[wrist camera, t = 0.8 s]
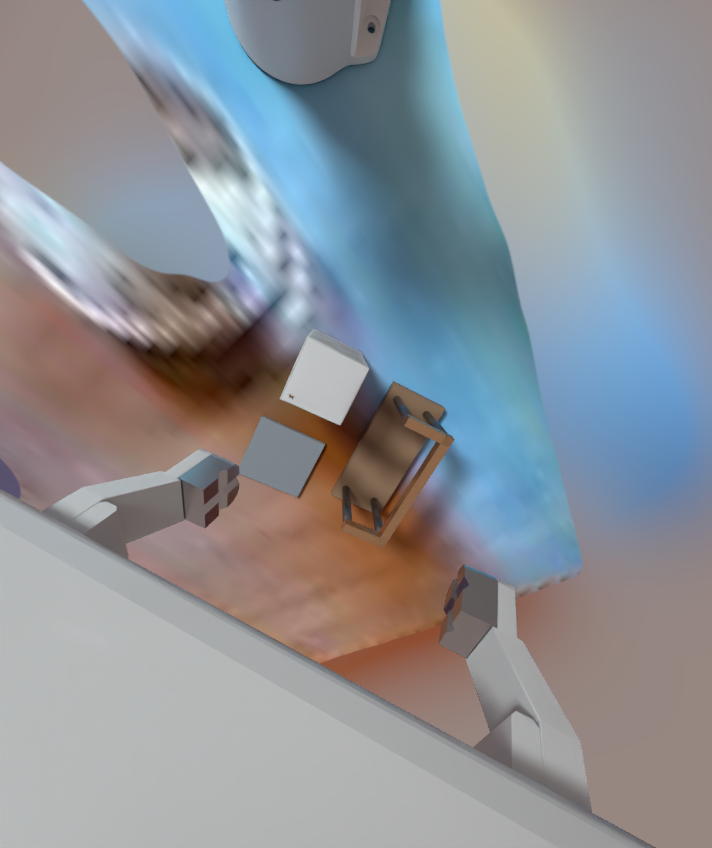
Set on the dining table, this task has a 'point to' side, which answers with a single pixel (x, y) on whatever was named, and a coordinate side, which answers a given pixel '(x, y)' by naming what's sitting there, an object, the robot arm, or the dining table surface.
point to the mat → (280, 456)
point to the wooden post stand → (412, 491)
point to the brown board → (385, 450)
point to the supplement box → (325, 377)
